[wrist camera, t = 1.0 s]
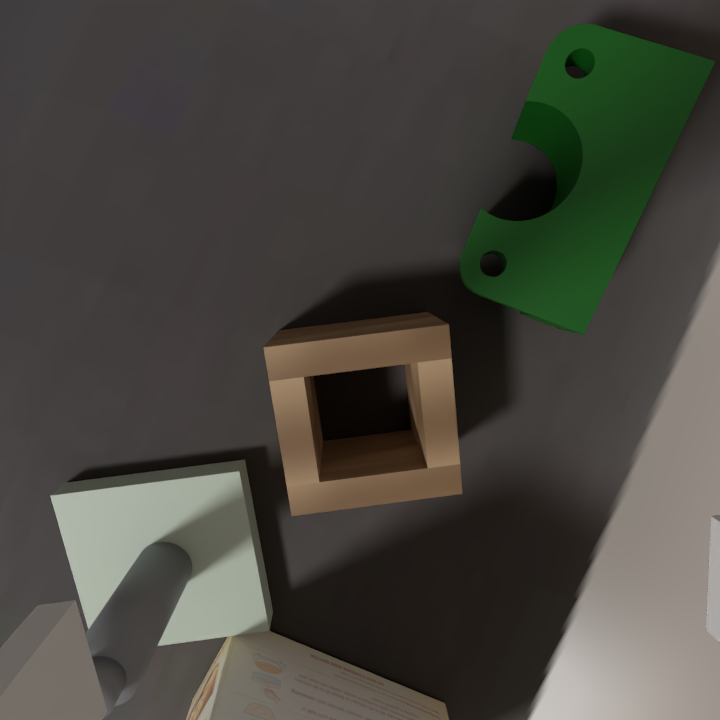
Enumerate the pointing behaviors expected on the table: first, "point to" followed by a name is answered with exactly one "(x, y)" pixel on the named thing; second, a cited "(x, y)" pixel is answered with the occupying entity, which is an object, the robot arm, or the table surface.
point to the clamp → (586, 170)
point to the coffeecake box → (300, 686)
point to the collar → (370, 452)
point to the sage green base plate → (162, 564)
